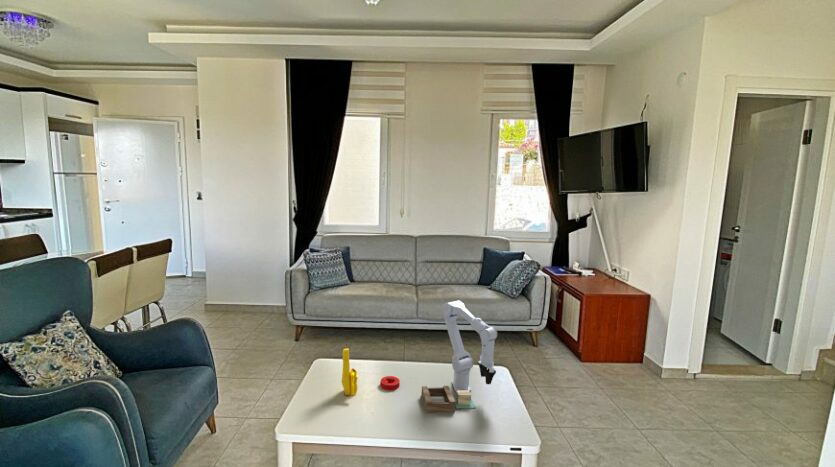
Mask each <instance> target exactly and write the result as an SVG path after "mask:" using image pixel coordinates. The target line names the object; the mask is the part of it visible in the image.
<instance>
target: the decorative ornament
mask: <svg viewBox="0 0 835 467" xmlns="http://www.w3.org/2000/svg"><path fill="white" fill-rule="evenodd" d="M400 382H401V381H400V378H399V377H397V376H394V375H388V376H387V375H386V376H384V377H382V378H381V379H380V388H381V389H383V390H385V391H396V390H397V389H399V388H400V385H401V384H400Z"/></svg>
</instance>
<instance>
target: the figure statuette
mask: <svg viewBox="0 0 835 467" xmlns="http://www.w3.org/2000/svg"><path fill="white" fill-rule="evenodd" d="M350 365H351V364H350V349H349V348H343V350H342V374H341V375H342V376H341V384H342V388H343V390H344V396H351V397H352V396H356V395H357V392H358V378H359V376H358V373H357V370H356V369H355V368H351V369H350Z"/></svg>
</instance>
